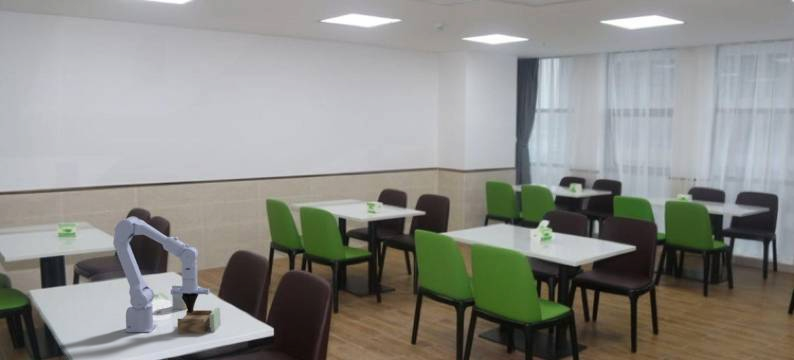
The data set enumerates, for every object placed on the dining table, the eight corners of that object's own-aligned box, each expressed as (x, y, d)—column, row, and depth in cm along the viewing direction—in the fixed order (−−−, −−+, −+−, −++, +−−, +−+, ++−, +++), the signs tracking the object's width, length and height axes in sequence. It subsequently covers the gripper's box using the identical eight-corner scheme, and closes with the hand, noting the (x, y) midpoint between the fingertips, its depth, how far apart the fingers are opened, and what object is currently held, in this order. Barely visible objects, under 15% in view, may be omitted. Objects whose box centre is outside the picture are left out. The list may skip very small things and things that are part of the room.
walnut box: (177, 333, 253) (177, 319, 253) (187, 323, 265) (187, 310, 265) (204, 333, 253) (203, 319, 253) (212, 323, 265) (212, 310, 265)
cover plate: (209, 314, 254) (213, 314, 254) (216, 307, 263) (219, 307, 263) (210, 332, 255) (214, 332, 255) (216, 324, 264) (220, 324, 264)
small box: (184, 310, 283) (183, 286, 282) (172, 309, 285) (171, 285, 284) (193, 305, 291) (192, 281, 290) (182, 304, 292) (181, 281, 291)
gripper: (211, 275, 261) (212, 309, 263) (174, 275, 261) (175, 309, 262) (206, 280, 254) (207, 314, 256) (168, 279, 254) (169, 314, 255)
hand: (190, 312), depth 258 cm, fingers closed
